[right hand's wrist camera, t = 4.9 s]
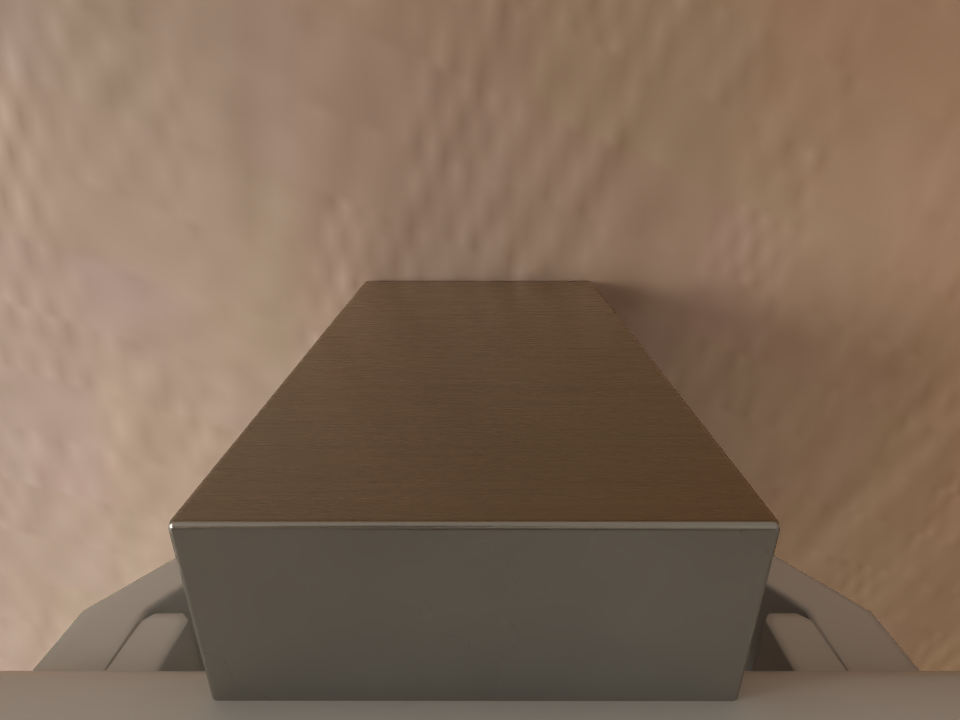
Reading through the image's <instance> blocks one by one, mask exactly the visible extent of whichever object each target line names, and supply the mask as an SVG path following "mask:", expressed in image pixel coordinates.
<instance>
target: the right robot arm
mask: <svg viewBox="0 0 960 720" xmlns="http://www.w3.org/2000/svg"><path fill="white" fill-rule="evenodd" d="M0 720H960V671H920V670H919V669H918V668H917V667H916V666H915V664H914V663H913V662H912V661H911V660H910V658H909V657H908V656H907V655H906V654H905V652H904V651H903V650H902V649H901V648H900V646H899V645H898V644H897V643H896V642H895V640H894V639H893V638H892V637H891V636H890V634H889V633H888V632H887V631H886V629H885V628H884V627H883V626H882V625H881V623H880V622H879V621H878V620H877V619H876V617H875V616H874V615H873V614H872V613H871V612H870V611H869V610H867V609H865V608H863V607H862V606H860V605H858V604H857V603H855V602H853V601H851V600H850V599H848V598H846V597H845V596H843V595H841V594H839V593H838V592H836V591H834V590H832V589H831V588H829V587H827V586H826V585H824V584H822V583H820V582H819V581H817V580H815V579H813V578H812V577H810V576H808V575H807V574H805V573H803V572H801V571H800V570H798V569H796V568H795V567H793V566H791V565H789V564H788V563H786V562H784V561H782V560H781V559H779V558H777V557H776V556H774V555H773V559H772V563H771V567H770V571H769V575H768V579H767V583H766V587H765V591H764V595H763V599H762V603H761V607H760V611H759V615H758V619H757V623H756V627H755V631H754V635H753V639H752V643H751V647H750V651H749V655H748V659H747V663H746V667H745V671H744V675H743V679H742V683H741V687H740V691H739V695H738V699H737V700H735V701H216V700H214V699H213V698H212V695H211V691H210V687H209V683H208V679H207V675H206V672H205V668H204V664H203V660H202V656H201V652H200V648H199V645H198V641H197V637H196V633H195V629H194V625H193V621H192V618H191V614H190V610H189V606H188V602H187V598H186V595H185V591H184V587H183V583H182V579H181V575H180V571H179V568H178V564H177V560H176V558H175V559H173V560H171V561H170V562H168V563H166V564H164V565H163V566H161V567H159V568H157V569H156V570H154V571H152V572H150V573H149V574H147V575H145V576H143V577H142V578H140V579H138V580H136V581H135V582H133V583H131V584H129V585H128V586H126V587H124V588H122V589H121V590H119V591H117V592H115V593H114V594H112V595H110V596H109V597H107V598H105V599H103V600H102V601H100V602H98V603H96V604H95V605H93V606H91V607H89V608H88V609H86V610H84V611H83V612H82V613H81V614H80V615H79V617H78V618H77V619H76V620H75V621H74V623H73V624H72V625H71V626H70V627H69V628H68V630H67V631H66V632H65V633H64V634H63V636H62V637H61V638H60V639H59V640H58V641H57V643H56V644H55V645H54V646H53V647H52V648H51V650H50V651H49V652H48V653H47V654H46V656H45V657H44V658H43V659H42V660H41V661H40V663H39V664H38V665H37V666H36V667H35V668H34V670H33V671H0Z"/></svg>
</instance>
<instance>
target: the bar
mask: <svg viewBox="0 0 960 720" xmlns="http://www.w3.org/2000/svg"><path fill="white" fill-rule="evenodd" d="M779 531H780V528H779V523H778V520H777V519H776V518H775V516H774V515H773V514H772V513H771V511H770V510H769V509H768V508H767V506H766V505H765V504H764V502H763V501H762V500H761V499H760V497H759V496H758V495H757V493H756V492H755V491H754V490H753V488H752V487H751V486H750V485H749V483H748V482H747V481H746V479H745V478H744V477H743V476H742V474H741V473H740V472H739V470H738V469H737V468H736V467H735V465H734V464H733V463H732V462H731V460H730V459H729V458H728V456H727V455H726V454H725V453H724V451H723V450H722V449H721V447H720V446H719V445H718V444H717V442H716V441H715V440H714V438H713V437H712V436H711V435H710V433H709V432H708V431H707V430H706V428H705V427H704V426H703V424H702V423H701V422H700V421H699V419H698V418H697V417H696V415H695V414H694V413H693V412H692V410H691V409H690V408H689V407H688V405H687V404H686V403H685V401H684V400H683V399H682V398H681V396H680V395H679V394H678V392H677V391H676V390H675V389H674V387H673V386H672V385H671V384H670V382H669V381H668V380H667V378H666V377H665V376H664V375H663V373H662V372H661V371H660V369H659V368H658V367H657V366H656V364H655V363H654V362H653V361H652V359H651V358H650V357H649V355H648V354H647V353H646V352H645V350H644V349H643V348H642V346H641V345H640V344H639V343H638V341H637V340H636V339H635V337H634V336H633V335H632V334H631V332H630V331H629V330H628V329H627V327H626V326H625V325H624V323H623V322H622V321H621V320H620V318H619V317H618V316H617V314H616V313H615V312H614V311H613V309H612V308H611V307H610V306H609V304H608V303H607V302H606V300H605V299H604V298H603V297H602V295H601V294H600V293H599V291H598V290H597V289H596V288H595V286H594V285H593V284H592V283H591V282H589V281H367V282H365V283H364V284H363V285H362V287H361V288H360V289H359V290H358V291H357V293H356V294H355V295H354V296H353V298H352V299H351V300H350V301H349V302H348V304H347V305H346V306H345V307H344V309H343V310H342V311H341V312H340V313H339V315H338V316H337V317H336V318H335V320H334V321H333V322H332V323H331V325H330V326H329V327H328V328H327V329H326V331H325V332H324V333H323V334H322V336H321V337H320V338H319V339H318V340H317V342H316V343H315V344H314V345H313V347H312V348H311V349H310V350H309V351H308V353H307V354H306V355H305V356H304V358H303V359H302V360H301V361H300V362H299V364H298V365H297V366H296V367H295V369H294V370H293V371H292V372H291V374H290V375H289V376H288V377H287V378H286V380H285V381H284V382H283V383H282V385H281V386H280V387H279V388H278V389H277V391H276V392H275V393H274V394H273V396H272V397H271V398H270V399H269V400H268V402H267V403H266V404H265V405H264V407H263V408H262V409H261V410H260V411H259V413H258V414H257V415H256V416H255V418H254V419H253V420H252V421H251V423H250V424H249V425H248V426H247V427H246V429H245V430H244V431H243V432H242V434H241V435H240V436H239V437H238V438H237V440H236V441H235V442H234V443H233V445H232V446H231V447H230V448H229V449H228V451H227V452H226V453H225V454H224V456H223V457H222V458H221V459H220V460H219V462H218V463H217V464H216V465H215V467H214V468H213V469H212V470H211V472H210V473H209V474H208V475H207V476H206V478H205V479H204V480H203V481H202V483H201V484H200V485H199V486H198V487H197V489H196V490H195V491H194V492H193V494H192V495H191V496H190V497H189V498H188V500H187V501H186V502H185V503H184V505H183V506H182V507H181V508H180V510H179V511H178V512H177V513H176V514H175V516H174V517H173V518H172V519H171V521H170V524H169V533H170V537H171V541H172V545H173V548H174V552H175V556H176V560H177V564H178V568H179V571H180V575H181V579H182V583H183V587H184V591H185V595H186V598H187V602H188V606H189V610H190V614H191V618H192V621H193V625H194V629H195V633H196V637H197V641H198V645H199V648H200V652H201V656H202V660H203V664H204V668H205V672H206V675H207V679H208V683H209V687H210V691H211V695H212V698H213V699H214V700H216V701H735V700H737V699H738V695H739V691H740V687H741V683H742V679H743V675H744V671H745V667H746V663H747V659H748V655H749V651H750V647H751V643H752V639H753V635H754V631H755V627H756V623H757V619H758V615H759V611H760V607H761V603H762V599H763V595H764V591H765V587H766V583H767V579H768V575H769V571H770V567H771V563H772V559H773V555H774V551H775V547H776V543H777V539H778V535H779Z"/></svg>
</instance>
